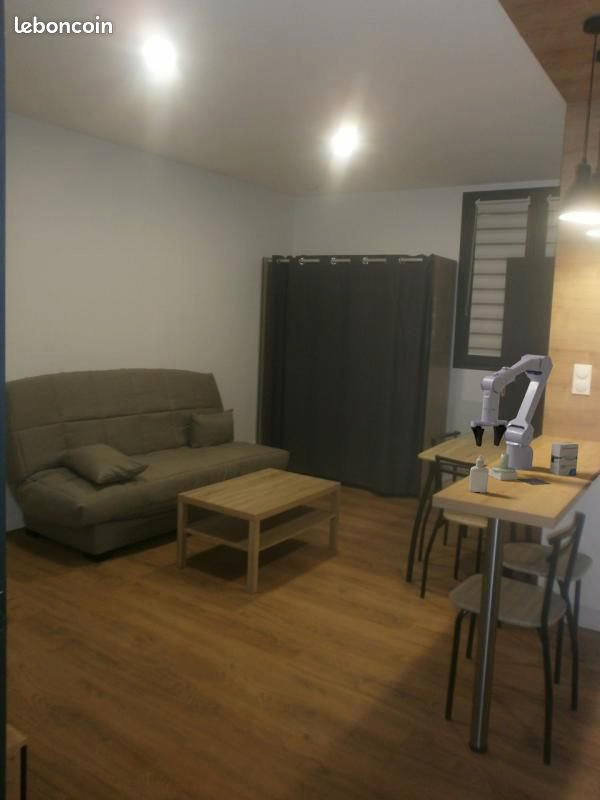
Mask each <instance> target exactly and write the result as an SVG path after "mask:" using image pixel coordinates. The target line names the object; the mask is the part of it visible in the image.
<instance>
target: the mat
mask: <svg viewBox="0 0 600 800" xmlns="http://www.w3.org/2000/svg"><path fill="white" fill-rule="evenodd" d="M517 480H519V481H520V482H524V483H526V484H528V485H531V486H539V485H540V486H541V485H552V483H550V482H547V481H545V480H543V479H541V478H540V479H539V478H537V477H536V478H535V477H534V478H517Z"/></svg>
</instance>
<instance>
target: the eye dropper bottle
mask: <svg viewBox="0 0 600 800" xmlns="http://www.w3.org/2000/svg"><path fill="white" fill-rule="evenodd" d="M469 470H470V471H469V472H470V473H469V480H468V481H469V482H468V483H469V484H468V491H469V492H470V493H475V492H480V493H479V494H486V493H487V492H488V482H489V481H488V480H489V476H488V475H489V468H487V467H485V459H483V455H482V454H481V455H479V456H478V457H477V459H476V460H475V465H474V466H472V467H471V468H470V469H469Z"/></svg>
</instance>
